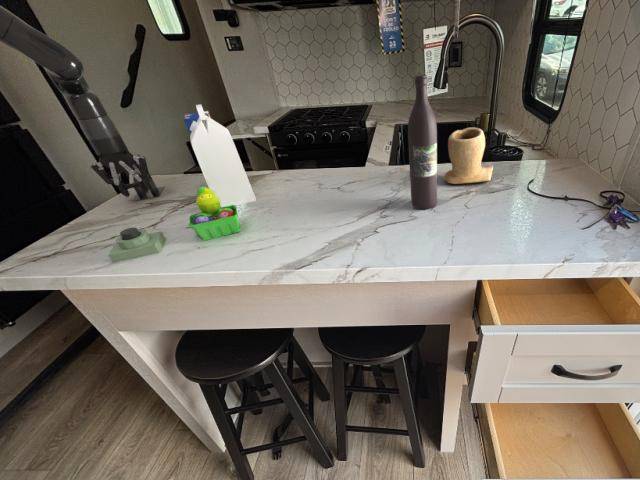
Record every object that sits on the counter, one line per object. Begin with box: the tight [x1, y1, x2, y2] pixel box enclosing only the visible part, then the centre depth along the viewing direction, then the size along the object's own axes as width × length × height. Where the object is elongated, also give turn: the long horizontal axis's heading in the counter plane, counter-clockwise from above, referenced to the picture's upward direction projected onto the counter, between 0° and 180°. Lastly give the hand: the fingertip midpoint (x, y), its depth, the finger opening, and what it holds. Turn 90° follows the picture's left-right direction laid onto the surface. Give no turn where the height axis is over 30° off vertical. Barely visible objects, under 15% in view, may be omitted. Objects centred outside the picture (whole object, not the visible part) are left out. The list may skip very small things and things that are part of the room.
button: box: [119, 227, 141, 240], centre depth 81 cm, size 4×4×2 cm
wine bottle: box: [407, 74, 438, 210], centre depth 84 cm, size 7×7×30 cm
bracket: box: [124, 154, 165, 202], centre depth 110 cm, size 10×8×13 cm
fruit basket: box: [188, 185, 241, 242], centre depth 85 cm, size 11×9×11 cm
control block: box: [107, 229, 166, 263], centre depth 83 cm, size 10×8×4 cm
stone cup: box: [444, 127, 494, 185], centre depth 100 cm, size 15×12×15 cm
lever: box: [123, 162, 140, 190], centre depth 105 cm, size 12×4×2 cm, turn 20°
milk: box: [189, 104, 258, 207], centre depth 99 cm, size 12×12×26 cm
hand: (137, 194), depth 105 cm, fingers closed on lever, 4 cm apart
